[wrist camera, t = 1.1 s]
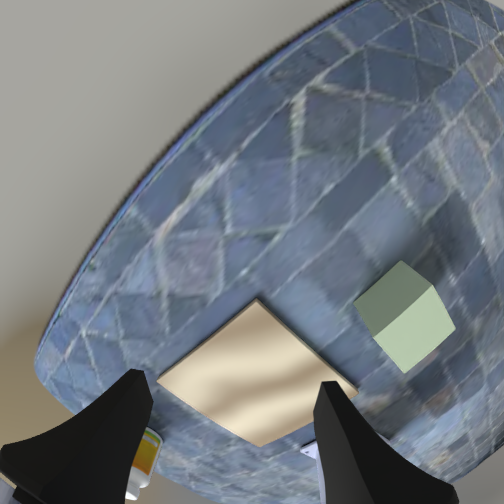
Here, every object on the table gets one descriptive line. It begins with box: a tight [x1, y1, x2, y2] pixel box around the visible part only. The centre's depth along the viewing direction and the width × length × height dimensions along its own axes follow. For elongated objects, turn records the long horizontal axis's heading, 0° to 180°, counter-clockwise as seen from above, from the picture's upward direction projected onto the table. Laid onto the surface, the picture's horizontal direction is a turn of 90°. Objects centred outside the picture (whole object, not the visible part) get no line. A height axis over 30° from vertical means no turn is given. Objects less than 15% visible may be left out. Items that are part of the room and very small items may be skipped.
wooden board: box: [157, 298, 359, 447], centre depth 23 cm, size 14×13×1 cm
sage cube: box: [353, 260, 456, 374], centre depth 18 cm, size 5×5×5 cm
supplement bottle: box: [125, 427, 163, 500], centre depth 22 cm, size 5×5×10 cm
